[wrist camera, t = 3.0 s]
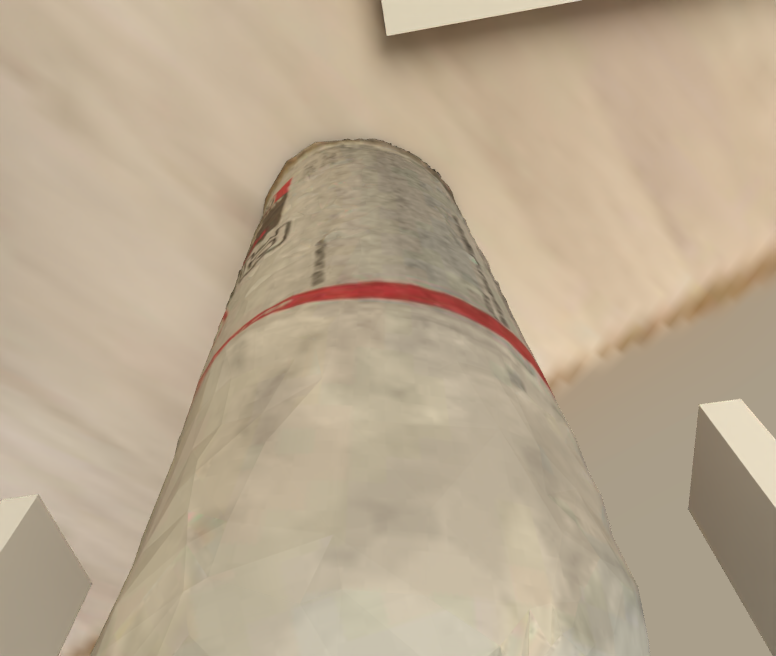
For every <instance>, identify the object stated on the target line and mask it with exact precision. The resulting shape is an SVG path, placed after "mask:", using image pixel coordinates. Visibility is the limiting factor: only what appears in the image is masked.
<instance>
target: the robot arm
mask: <svg viewBox="0 0 776 656" xmlns="http://www.w3.org/2000/svg"><path fill="white" fill-rule="evenodd" d="M688 510H689V511H690V513H691V515H692V516H693V518H694V520H695V522H696V523H697V525H698V527H699V529H700V530H701V532H702V534H703V536H704V537H705V539H706V541H707V543H708V544H709V546H710V548H711V550H712V551H713V553H714V554H715V556H716V558H717V560H718V562H719V563H720V565H721V567H722V569H723V570H724V572H725V574H726V575H727V577H728V579H729V581H730V582H731V584H732V586H733V588H734V589H735V591H736V593H737V595H738V596H739V598H740V600H741V601H742V603H743V605H744V606H745V608H746V610H747V612H748V613H749V615H750V617H751V619H752V621H753V622H754V624H755V626H756V627H757V629H758V631H759V633H760V634H761V636H762V638H763V640H764V641H765V643H766V645H767V646H768V648H769V650H770V651H771V653H772V655H773V656H776V440H775V439H774V438H773V436H772V435H771V434H770V433H769V432H768V430H767V429H766V428H765V427H764V426H763V425H762V423H761V422H760V421H759V420H758V419H757V417H756V416H755V415H754V414H753V413H752V412H751V410H750V409H749V408H748V407H747V406H746V405H745V403H744V402H743V401H742V400H741V399H737V400H730V401H723V402H714V403H707V404H701V405H699V410H698V419H697V429H696V439H695V448H694V458H693V468H692V478H691V487H690V497H689V507H688ZM91 585H92V583H91V581H90V579H89V578H88V576H87V574H86V573H85V571H84V569H83V568H82V566H81V564H80V563H79V561H78V559H77V558H76V556H75V554H74V553H73V551H72V549H71V548H70V546H69V544H68V543H67V541H66V539H65V538H64V536H63V534H62V533H61V531H60V530H59V528H58V526H57V525H56V523H55V521H54V520H53V518H52V516H51V515H50V513H49V511H48V510H47V508H46V506H45V505H44V503H43V501H42V500H41V498H40V496H39V495H31V496H23V497H16V498H9V499H3V500H2V501H1V502H0V656H58V655H59V653H60V650H61V648H62V646H63V644H64V642H65V640H66V638H67V636H68V634H69V631H70V629H71V627H72V625H73V623H74V621H75V619H76V617H77V614H78V612H79V610H80V608H81V606H82V604H83V602H84V600H85V597H86V595H87V593H88V591H89V589H90V587H91Z"/></svg>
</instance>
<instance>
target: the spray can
mask: <svg viewBox="0 0 776 656" xmlns="http://www.w3.org/2000/svg"><path fill="white" fill-rule="evenodd" d="M90 656H650V648H649V640H648V635H647V630H646V625H645V620H644V615H643V610H642V604H641V600H640V594H639V590H638V586H637V584H636V582H635V580H634V578H633V576H632V574H631V572H630V570H629V568H628V566H627V564H626V562H625V560H624V558H623V556H622V554H621V552H620V550H619V548H618V546H617V544H616V542H615V540H614V538H613V535H612V531H611V528H610V524H609V521H608V517H607V513H606V510H605V506H604V503H603V499H602V496H601V494H600V492H599V490H598V488H597V486H596V484H595V483H594V481H593V479H592V477H591V475H590V473H589V472H588V469H587V466H586V464H585V461H584V458H583V456H582V453H581V451H580V448H579V445H578V443H577V440H576V438H575V435H574V434H573V432H572V430H571V428H570V426H569V424H568V423H567V421H566V419H565V417H564V415H563V413H562V411H561V410H560V408H559V406H558V404H557V402H556V399H555V397H554V395H553V393H552V391H551V389H550V387H549V385H548V383H547V381H546V379H545V377H544V375H543V373H542V371H541V370H540V368H539V366H538V364H537V362H536V360H535V358H534V356H533V354H532V352H531V350H530V348H529V347H528V345H527V343H526V341H525V339H524V337H523V335H522V333H521V331H520V329H519V327H518V325H517V323H516V321H515V319H514V317H513V315H512V313H511V311H510V309H509V306H508V303H507V301H506V299H505V297H504V296H503V294H502V292H501V290H500V287H499V283H498V282H497V281H496V280H495V279H494V277H493V275H492V273H491V270H490V267H489V263H488V261H487V260H486V258H485V256H484V255H483V253H482V251H481V250H480V249H479V247H478V245H477V244H476V242H475V239H474V238H473V237H472V235H471V233H470V230H469V228H468V226H467V223H466V220H465V219H464V218H463V216H462V214H461V212H460V210H459V208H458V206H457V205H456V203H455V200H454V197H453V194H452V191H451V190H450V188H449V186H448V185H447V184H446V183H445V182H444V181H443V180H442V179H441V176H440V174H439V173H438V172H436V171H435V169H431V168H430V166H428V165H427V163H425V162H423V161H422V160H421V159H420V158H418V157H417V156H415V155H414V154H411V153H410V152H409V151H407V152H406V151H405V150H404V149H401V148H397V146H391V144H389V143H387V142H384V141H381V140H377V139H367V140H364V139H357V140H350V139H344V140H342V141H329V142H315V143H314V144H312V145H310V146H309V147H307V148H305V149H304V150H302V151H301V152H299V153H298V154H297V155H296V156H295V157H293V158H291V159H290V160H288V161H286V163H285V165H284V167H283V168H282V170H281V172H280V173H279V175H278V177H277V178H276V180H275V182H274V184H273V185H272V187H271V189H270V191H269V193H268V195H267V197H266V199H265V204H264V211H263V216H262V218H261V221H260V224H259V225H258V227H257V229H256V232H255V234H254V237H253V239H252V241H251V244H250V248H249V250H248V253H247V256H246V258H245V261H244V263H243V266H242V269H241V270H240V271H239V275H238V279H237V282H236V285H235V288H234V290H233V292H232V293H231V296H230V299H229V301H228V304H227V306H226V311H225V314H224V316H223V318H222V321H221V323H220V325H219V328H218V332H217V335H216V337H215V339H214V343H213V346H212V348H211V351H210V354H209V356H208V359H207V361H206V364H205V366H204V369H203V371H202V374H201V376H200V379H199V382H198V385H197V388H196V391H195V394H194V397H193V401H192V404H191V407H190V410H189V413H188V416H187V418H186V421H185V424H184V427H183V430H182V433H181V435H180V437H179V440H178V443H177V448H176V452H175V457H174V459H173V462H172V464H171V467H170V469H169V472H168V474H167V477H166V479H165V482H164V484H163V487H162V489H161V492H160V494H159V497H158V499H157V502H156V504H155V507H154V509H153V512H152V514H151V517H150V519H149V522H148V524H147V527H146V529H145V532H144V534H143V537H142V540H141V543H140V546H139V549H138V552H137V555H136V558H135V561H134V564H133V567H132V569H131V571H130V573H129V575H128V577H127V579H126V581H125V583H124V585H123V588H122V590H121V592H120V594H119V596H118V598H117V600H116V602H115V604H114V606H113V609H112V611H111V613H110V615H109V617H108V619H107V621H106V623H105V625H104V627H103V630H102V632H101V634H100V636H99V638H98V640H97V642H96V644H95V646H94V648H93V651H92V653H91V655H90Z"/></svg>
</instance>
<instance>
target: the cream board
mask: <svg viewBox="0 0 776 656" xmlns="http://www.w3.org/2000/svg"><path fill="white" fill-rule="evenodd" d="M575 1H580V0H381V2H382V9H383V15H384V22H385V29H386V35H387V36H390V35H395V34H401V33H406V32H411V31H417V30H422V29H428V28H433V27H439V26H444V25H450V24H455V23H460V22H466V21H471V20H477V19H482V18H488V17H493V16H499V15H504V14H509V13H515V12H520V11H526V10H531V9H537V8H542V7H547V6H553V5H558V4H564V3H569V2H575Z"/></svg>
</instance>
